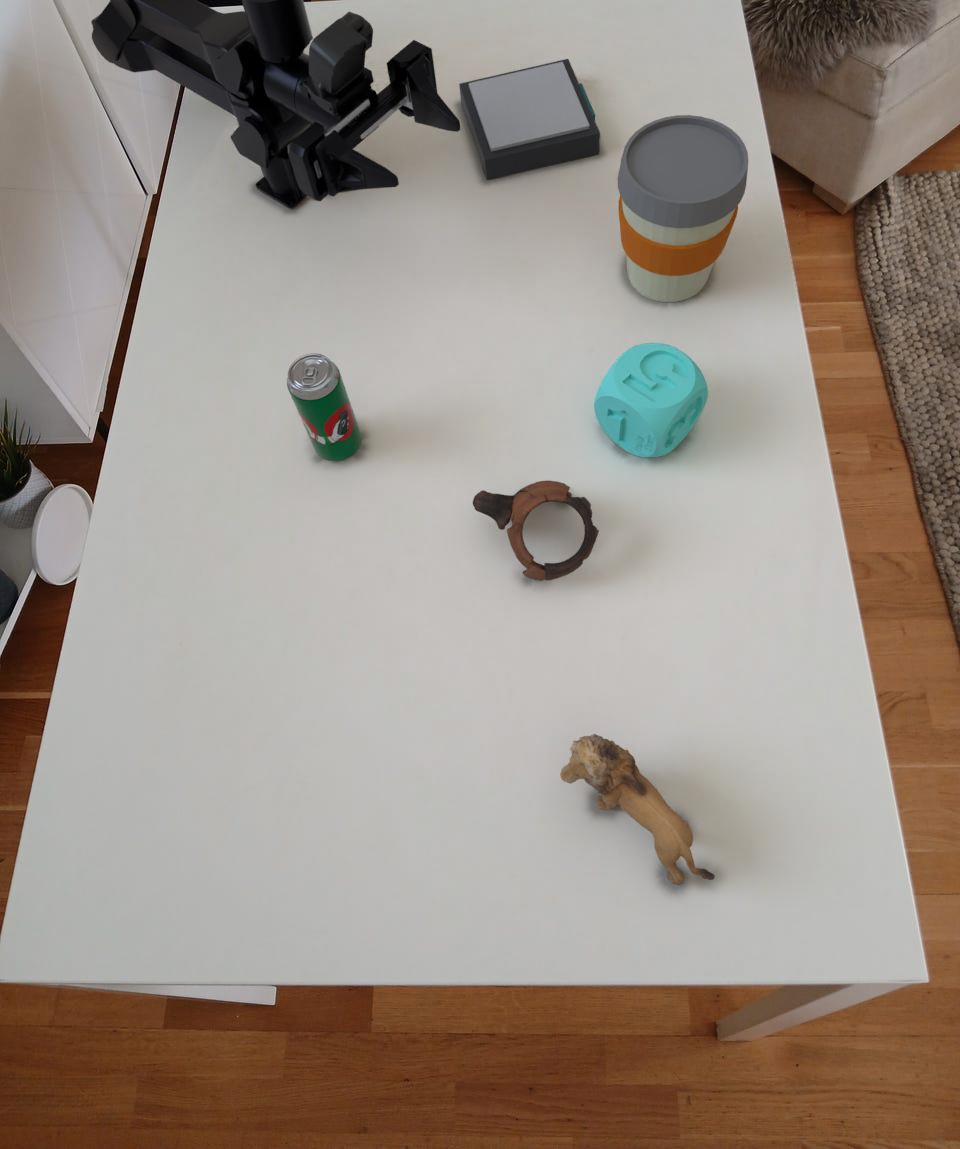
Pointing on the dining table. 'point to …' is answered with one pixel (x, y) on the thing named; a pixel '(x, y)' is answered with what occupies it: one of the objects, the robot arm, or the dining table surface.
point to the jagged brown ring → (518, 511)
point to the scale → (529, 119)
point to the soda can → (324, 407)
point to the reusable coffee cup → (678, 202)
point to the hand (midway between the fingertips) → (428, 153)
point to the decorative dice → (650, 399)
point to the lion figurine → (633, 799)
